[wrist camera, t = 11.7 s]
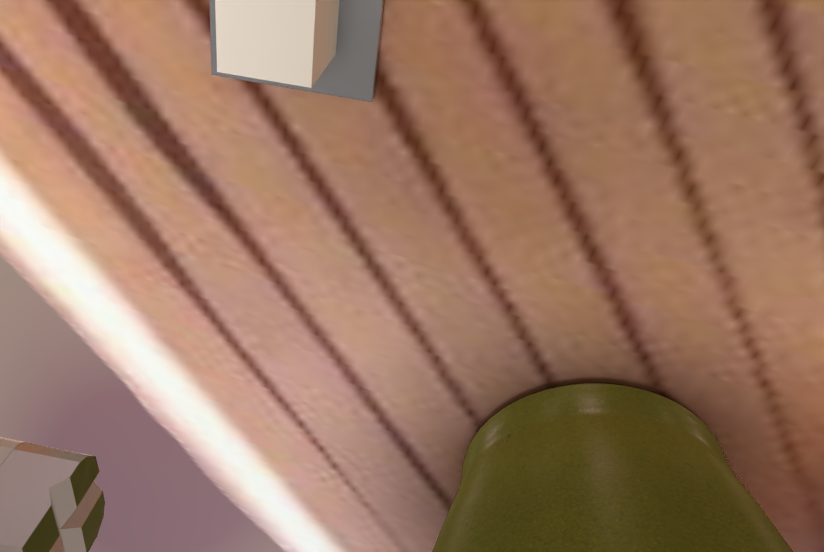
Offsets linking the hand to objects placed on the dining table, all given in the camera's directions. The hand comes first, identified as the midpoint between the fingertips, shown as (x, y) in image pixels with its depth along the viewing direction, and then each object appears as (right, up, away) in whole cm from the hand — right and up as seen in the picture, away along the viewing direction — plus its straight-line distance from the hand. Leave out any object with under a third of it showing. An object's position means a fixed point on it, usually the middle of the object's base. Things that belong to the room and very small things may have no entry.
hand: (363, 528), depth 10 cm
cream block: (-5, +18, +25) cm, 31 cm away
